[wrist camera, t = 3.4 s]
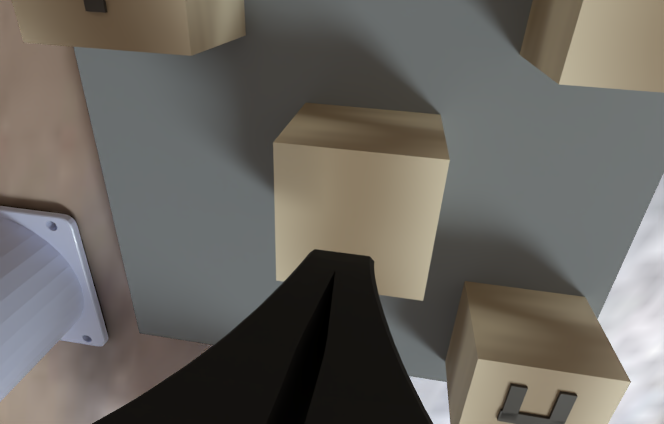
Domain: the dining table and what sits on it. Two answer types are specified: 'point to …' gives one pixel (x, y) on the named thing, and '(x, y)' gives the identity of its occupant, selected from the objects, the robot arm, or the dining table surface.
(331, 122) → the plain block
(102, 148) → the mat
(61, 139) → the dining table surface
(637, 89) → the block seven
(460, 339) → the block four
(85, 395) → the dining table surface
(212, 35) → the tan cube
